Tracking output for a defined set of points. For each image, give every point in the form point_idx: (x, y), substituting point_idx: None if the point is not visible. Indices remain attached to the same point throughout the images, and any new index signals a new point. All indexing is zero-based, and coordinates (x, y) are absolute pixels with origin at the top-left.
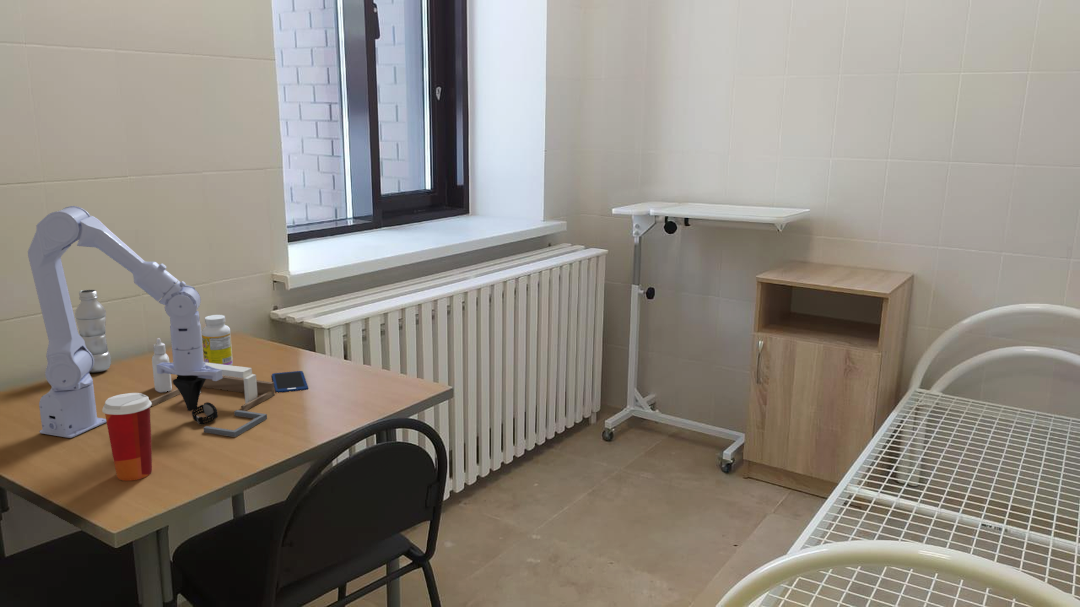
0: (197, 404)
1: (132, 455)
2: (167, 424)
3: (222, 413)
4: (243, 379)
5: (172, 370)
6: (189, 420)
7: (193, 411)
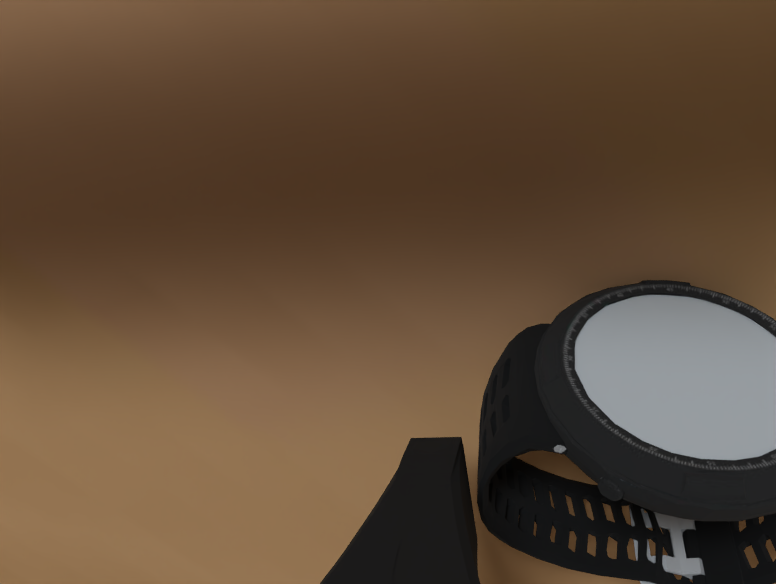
0: (453, 458)
1: None
2: None
3: (687, 92)
4: None
5: None
6: None
7: (491, 504)
